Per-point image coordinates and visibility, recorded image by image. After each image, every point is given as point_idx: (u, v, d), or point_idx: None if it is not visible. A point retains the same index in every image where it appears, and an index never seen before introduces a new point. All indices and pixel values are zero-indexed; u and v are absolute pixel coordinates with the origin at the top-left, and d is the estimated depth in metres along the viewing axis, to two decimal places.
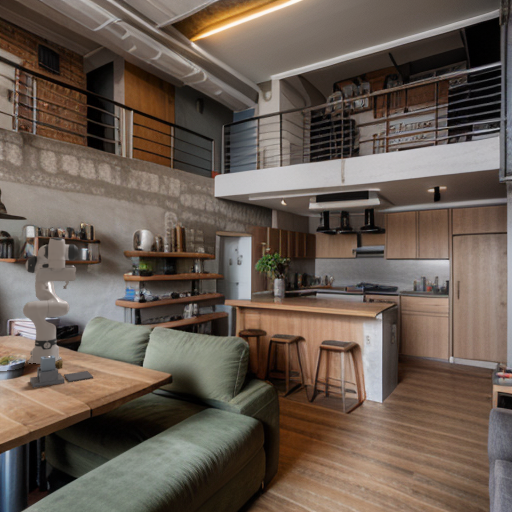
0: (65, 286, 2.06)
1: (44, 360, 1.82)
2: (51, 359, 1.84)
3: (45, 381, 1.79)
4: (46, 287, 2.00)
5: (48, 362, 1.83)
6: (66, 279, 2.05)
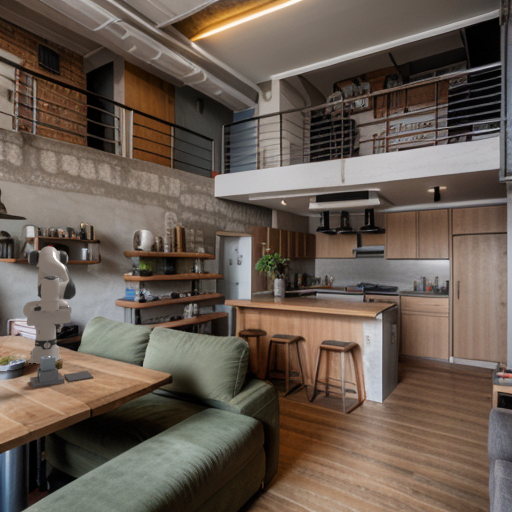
0: (59, 329, 1.88)
1: (44, 360, 1.82)
2: (51, 359, 1.84)
3: (45, 381, 1.79)
4: (38, 332, 1.82)
5: (48, 362, 1.83)
6: (60, 321, 1.88)
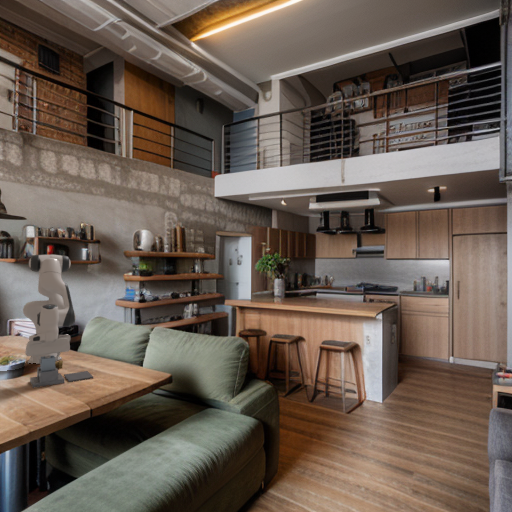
0: (56, 358, 1.87)
1: (44, 360, 1.82)
2: (51, 359, 1.84)
3: (45, 381, 1.79)
4: (39, 361, 1.82)
5: (48, 362, 1.83)
6: (59, 350, 1.87)
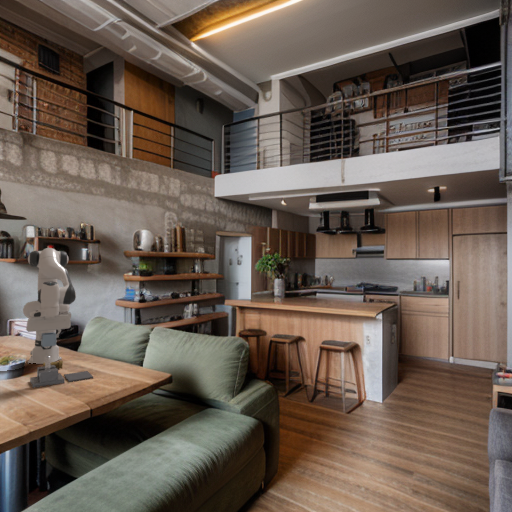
0: (57, 335, 1.88)
1: (45, 336, 1.82)
2: (52, 335, 1.84)
3: (45, 381, 1.79)
4: (40, 337, 1.83)
5: (49, 338, 1.83)
6: (60, 327, 1.88)
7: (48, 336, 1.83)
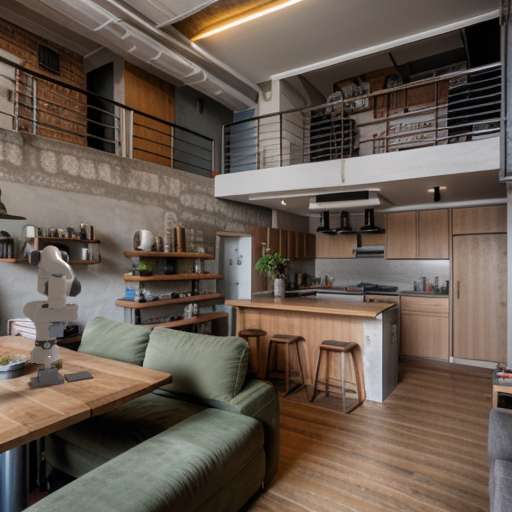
0: (64, 326, 1.90)
1: (52, 327, 1.84)
2: (59, 327, 1.86)
3: (45, 381, 1.79)
4: (48, 328, 1.85)
5: (56, 329, 1.85)
6: (67, 319, 1.90)
7: (55, 327, 1.85)
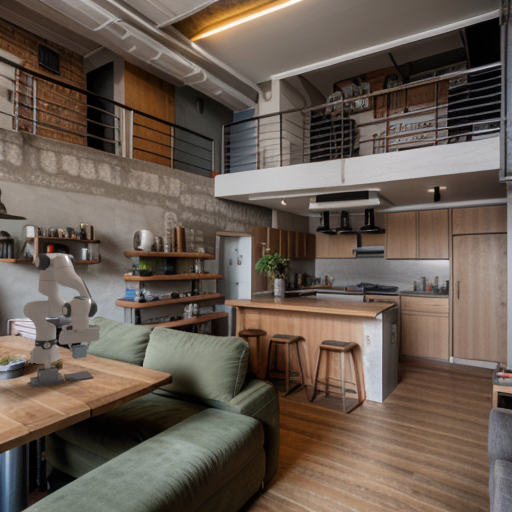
0: (87, 347, 1.96)
1: (76, 348, 1.91)
2: (83, 347, 1.93)
3: (45, 381, 1.79)
4: (72, 349, 1.91)
5: (80, 350, 1.92)
6: (90, 339, 1.96)
7: (79, 348, 1.92)
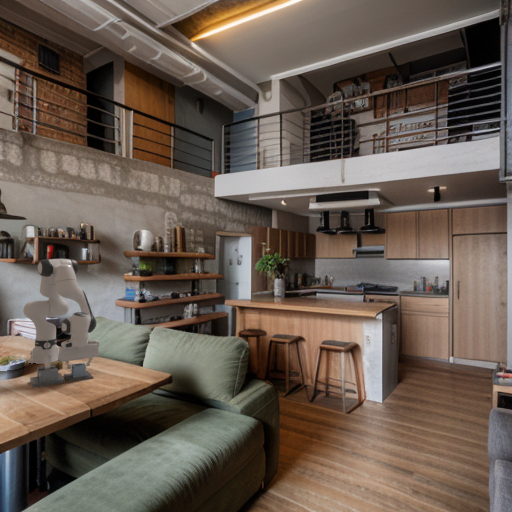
0: (88, 363, 1.97)
1: (75, 367, 1.91)
2: (82, 366, 1.93)
3: (45, 381, 1.79)
4: (69, 366, 1.91)
5: (79, 369, 1.92)
6: (89, 356, 1.96)
7: (78, 367, 1.92)
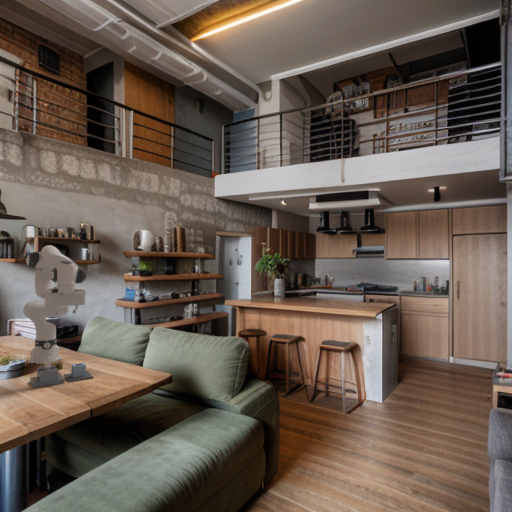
0: (74, 310, 2.02)
1: (75, 367, 1.91)
2: (82, 366, 1.93)
3: (45, 381, 1.79)
4: (55, 312, 1.96)
5: (79, 369, 1.92)
6: (75, 303, 2.02)
7: (78, 367, 1.92)
